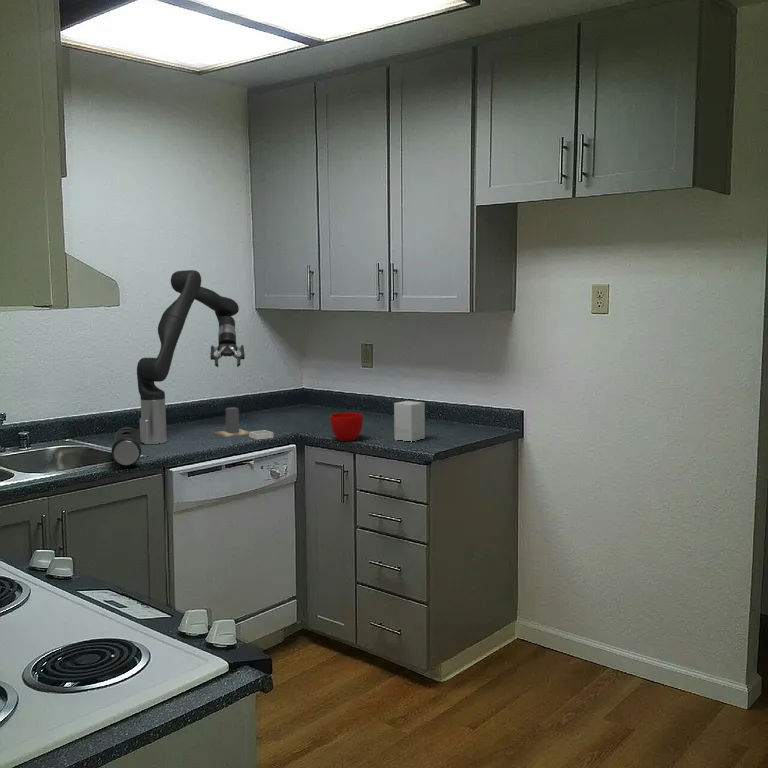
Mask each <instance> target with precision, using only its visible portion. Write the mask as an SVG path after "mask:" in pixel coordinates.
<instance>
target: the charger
mask: <svg viewBox="0 0 768 768" xmlns="http://www.w3.org/2000/svg"><path fill="white" fill-rule="evenodd" d="M239 416H240V412H239V407H235V406H234V407H233V406H232V407H225V431H226V432H227V433H239V429H240V417H239Z"/></svg>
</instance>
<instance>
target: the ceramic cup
mask: <svg viewBox="0 0 768 768" xmlns="http://www.w3.org/2000/svg"><path fill="white" fill-rule="evenodd" d="M329 418H330V426H331V427H330V428H331V432H332V434H333V435H334V436H335V437H336V439H337V440H338V441H339V442H352V441H353V440H354V441H356V440H357V438H358V437H359V435H360V434H361V431H362V429H363V423H364V420H363V419H364V414H363V413H359V412H335V413H332V414H330V417H329ZM354 441H353V442H354Z"/></svg>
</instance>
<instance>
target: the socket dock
mask: <svg viewBox="0 0 768 768" xmlns="http://www.w3.org/2000/svg"><path fill="white" fill-rule="evenodd" d="M248 432H249V434H248V437H249V438H251V439H254V440H264V439H266V440H267V439H272V438H273V439H274V432H273V431H272V430H271V431H269V430H266V429H263V430H255V431H248Z"/></svg>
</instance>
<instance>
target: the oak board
mask: <svg viewBox="0 0 768 768" xmlns="http://www.w3.org/2000/svg"><path fill="white" fill-rule="evenodd" d="M249 432H250V431H248V430H246V429H245V430H244V429H242V428H239V433H227V432H226V430H221V431H215V432H213V433H214V434H215V435H218V436H220V437H223V438H228V437H236V436H245V435H249Z"/></svg>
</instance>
